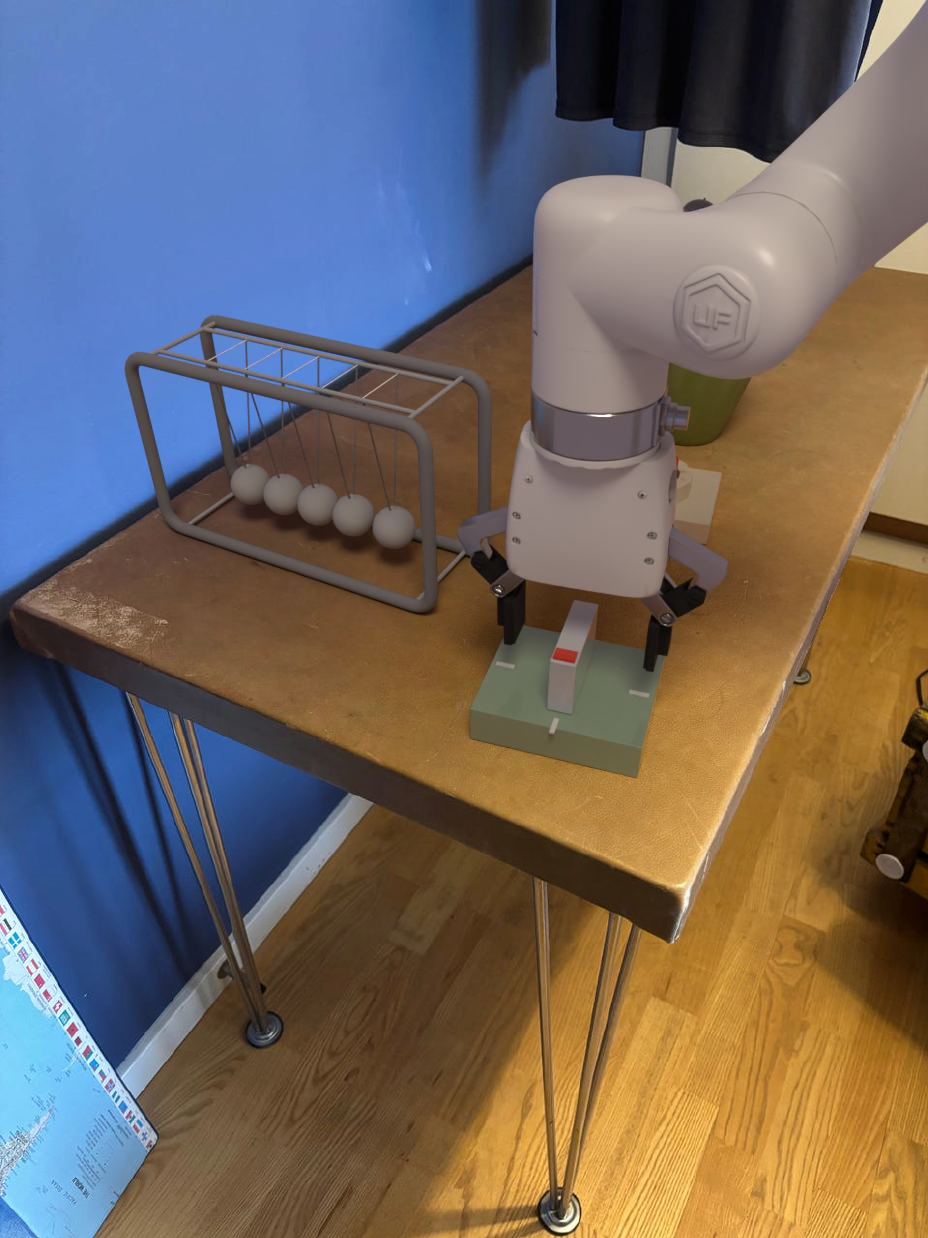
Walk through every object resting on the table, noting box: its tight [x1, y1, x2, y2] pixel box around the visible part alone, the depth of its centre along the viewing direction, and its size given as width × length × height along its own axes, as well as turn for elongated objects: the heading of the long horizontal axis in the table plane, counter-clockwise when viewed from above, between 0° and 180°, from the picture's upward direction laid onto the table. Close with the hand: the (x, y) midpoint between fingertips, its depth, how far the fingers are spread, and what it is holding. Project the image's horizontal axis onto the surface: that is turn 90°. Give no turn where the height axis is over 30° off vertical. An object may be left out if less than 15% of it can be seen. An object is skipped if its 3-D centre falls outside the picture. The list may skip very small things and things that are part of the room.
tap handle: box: [547, 599, 599, 714], centre depth 64 cm, size 7×2×5 cm, turn 161°
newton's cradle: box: [124, 314, 493, 614], centre depth 79 cm, size 30×10×18 cm, turn 61°
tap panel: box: [469, 624, 666, 779], centre depth 66 cm, size 12×11×3 cm
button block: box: [674, 459, 723, 545], centre depth 88 cm, size 12×10×4 cm
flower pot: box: [667, 362, 753, 447], centre depth 96 cm, size 15×15×16 cm
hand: (581, 645), depth 63 cm, fingers open, 9 cm apart
